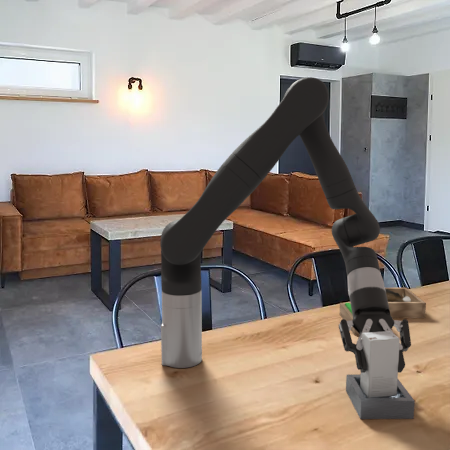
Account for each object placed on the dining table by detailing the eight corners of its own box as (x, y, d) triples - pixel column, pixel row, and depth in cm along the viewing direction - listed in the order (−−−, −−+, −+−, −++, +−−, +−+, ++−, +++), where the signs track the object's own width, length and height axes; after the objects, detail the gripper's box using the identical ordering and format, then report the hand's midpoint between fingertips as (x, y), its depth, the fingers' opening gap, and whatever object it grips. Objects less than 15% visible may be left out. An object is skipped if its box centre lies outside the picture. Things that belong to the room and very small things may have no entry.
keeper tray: (360, 419, 96) (361, 401, 95) (345, 390, 107) (346, 374, 106) (413, 418, 96) (414, 400, 95) (393, 390, 107) (394, 374, 106)
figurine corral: (381, 317, 151) (381, 303, 150) (365, 301, 167) (366, 287, 166) (425, 317, 151) (426, 302, 150) (405, 300, 167) (406, 287, 166)
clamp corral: (354, 335, 137) (354, 322, 137) (339, 314, 154) (339, 302, 154) (391, 334, 138) (392, 322, 137) (372, 313, 154) (373, 302, 154)
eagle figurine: (397, 301, 163) (371, 297, 161) (408, 286, 158) (382, 282, 156) (405, 320, 157) (378, 317, 155) (416, 306, 153) (389, 302, 151)
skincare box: (387, 386, 104) (390, 329, 102) (397, 397, 99) (401, 338, 97) (358, 388, 103) (361, 331, 101) (367, 399, 98) (370, 339, 96)
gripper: (336, 285, 105) (348, 364, 95) (406, 285, 105) (425, 364, 96) (330, 302, 111) (341, 378, 101) (396, 301, 111) (413, 377, 102)
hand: (382, 371), depth 99 cm, fingers closed on skincare box, 6 cm apart
